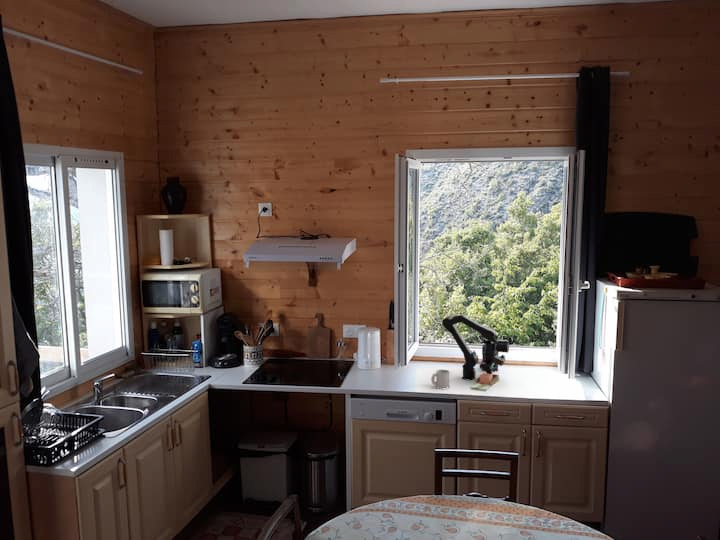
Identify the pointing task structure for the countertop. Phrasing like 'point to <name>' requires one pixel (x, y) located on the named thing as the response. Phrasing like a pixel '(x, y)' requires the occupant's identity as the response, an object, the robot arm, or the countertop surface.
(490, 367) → the robot arm
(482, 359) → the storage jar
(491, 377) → the block
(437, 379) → the cup
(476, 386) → the wooden tray
